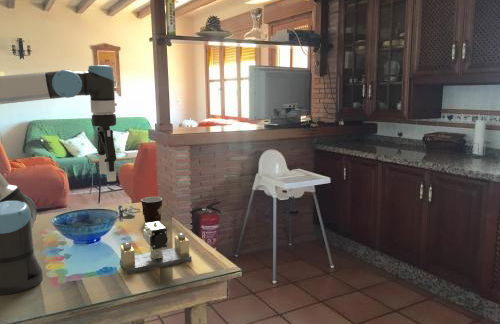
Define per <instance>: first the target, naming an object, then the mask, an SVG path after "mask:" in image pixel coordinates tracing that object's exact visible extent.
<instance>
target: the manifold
mask: <svg viewBox="0 0 500 324" xmlns="http://www.w3.org/2000/svg"><path fill="white" fill-rule="evenodd" d="M173 239H174V247H172V248H166V249H163V251H162V252H163V254H162V255H163V258H158V259H155V260H153V259H152V257H151V256H150V254H151V252H150V251H149V252H144V253H139V254H135V249H134V248H133V246H132V242H131V241H125V242H123V243H122V245H120V246H119V248H120V258H119V263H120V264H121V267H122V268H123V270H124V271H125V273H126V274H127V275H130V274H135V273H139V272H144V271H148V270H154V269H157V268H159V269H160V268H163V267H164V268H165V267H168V266H173V265H178V264H183V263H187V262H191V261H193V260H192V259H193V258H192V255H191V254H190V239H188V238H187V237H186V234H185V232H179V233H177V235H174V238H173Z"/></svg>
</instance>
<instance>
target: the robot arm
mask: <svg viewBox="0 0 500 324" xmlns="http://www.w3.org/2000/svg"><path fill="white" fill-rule="evenodd" d="M77 96H79V97H80V96H89V97H90V112H91V113H92V115H91V124H92V126H93V127H97V128H96V129H97V151H96V152H97V153H98V164H99V165H98V167H99V175H104V174H106V182H116V181H117V172H116V170H117V169H116V160H117V155H116V146H115V140H114V134H113V133H114V130H113V129H111V127H114V126H116V125H117V115H116V114H115V113H116V107H117V106H118V103H117V102H116V101H115V99H116V96H115V79H114V71H113V68H112V66H110V65H107V64H106V65H105V64H104V65H101V64H97V65H96V64H95V65H94V64H93V65H92V64H91V65H89V66H88V68H87V71H74V70H70V69H61V70H55V71H47V72H46V71H43V72H32V73H21V74H19V73H18V74H10V75H8V74H7V75H0V105H6V104H14V103H24V102H34V101H41V100H42V101H43V100H50V99H54V100H55V99H62V98H66V99H70V98H74V97H77ZM36 218H37V207H36V204H35V202H34V201H33V200H32V199H31V198H30V197H29V196H27V195H26V194H24V193H23V192H22V190H21V189H20V188H19V187H18V186H17V185H13V184H10V183H9V182H8V181H7V180H6V179H5V177H4V176H3V174H2V173H1V172H0V296H1V295H2V296H3V295H11V294H17V293H21V292H24V291H26V290H29V289H31V288H34V287H36V286H37V285H39V284H41V282H42V281H43V279H44V278H43V277H44V275H43V270H42V267H41V265H40V263H39V261H38V259H37V257H36V255H35V253H34V251H35V250H34V239H33V230H32V229H33V227H34V224H35V222H36V220H37V219H36Z"/></svg>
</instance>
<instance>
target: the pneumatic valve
mask: <svg viewBox="0 0 500 324" xmlns="http://www.w3.org/2000/svg"><path fill="white" fill-rule="evenodd" d="M167 233H168V231H167V227H166V226H164V224H162V223H161V222H159V221H154V222H147V223H145V222H144V228H143V229H142V234H143V235H142V237H143V239H144V241H145V242H146V243H147V244H148V245H149V250H150V251H149V253H150V252H151V254H150V256H151V257H152V259H153V260H155V259H158V258H163V255H162V254H163V252H162V251H163V250H164V248H168V234H167Z"/></svg>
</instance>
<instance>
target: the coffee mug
mask: <svg viewBox="0 0 500 324" xmlns="http://www.w3.org/2000/svg"><path fill="white" fill-rule="evenodd" d="M140 202H141V206H142V208H141V209H142V216H143V219H144V224H145V223H147V222H154V221H159V222H160V223H161V221H162V210H163V209H162V207H163V198H162V197H160V196H148V197H144V198H141V199H140Z"/></svg>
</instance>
